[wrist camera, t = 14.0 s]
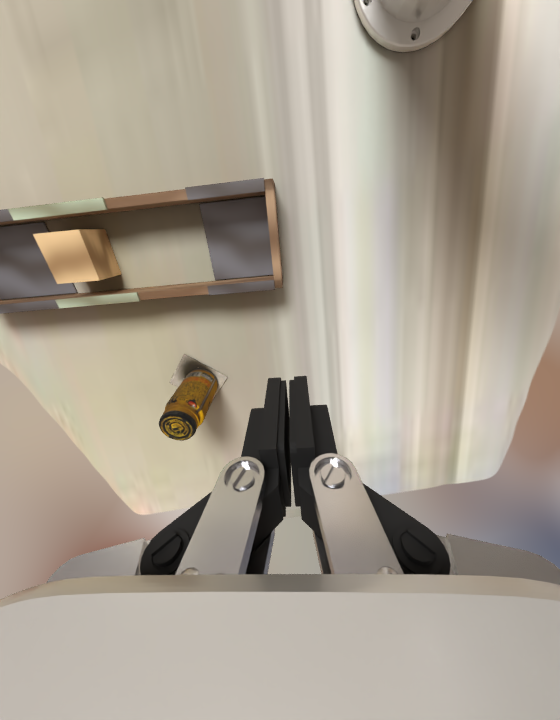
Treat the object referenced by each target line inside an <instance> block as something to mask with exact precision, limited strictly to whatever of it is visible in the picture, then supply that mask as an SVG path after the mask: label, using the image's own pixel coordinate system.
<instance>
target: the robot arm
mask: <svg viewBox="0 0 560 720" xmlns="http://www.w3.org/2000/svg"><path fill="white" fill-rule="evenodd" d="M472 1H473V0H354V2H355V6H356V10H357V13H358V15H359V17H360V20H361V22H362V24H363V26H364V27H365V29H366V30H367V32H368V33H369V35H370V36H371V37H372V38H373V39H374V40H375V41H376V42H377V43H378V44H380V45H381V46H383V47H385V48H387V49H389V50H393V51H398V52H409V51H415V50H418V49H421V48H424V47H426V46H428V45H430V44H431V43H433V42H435V41H436V40H438V39H439V38H440V37H441V36H442V35H444V34H445V33H446V32H447V31H448V30H449V29H450V28H451V27H452V26H453V25H454V24H455V22H456V21H457V20H458V19H459V18H460V17H461V15H462V14H463V13H464V11H465V10H466V9H467V7H468V6H469V5H470V3H471V2H472ZM364 3H367V5H368V6H366V5H364ZM411 37H413V38H414V41H413V40H412V39H411ZM291 467H292V477H293V486H294V495H295V505H296V506H301V516H302V520H303V521H304V522H305V523H306V524H307V525H308V526H309V527H310V528H311V529H312V530H313V537H314V541H315V546H316V551H317V555H318V560H319V564H320V569H321V574H272V575H271V574H268V569H269V563H270V558H271V552H272V546H273V541H274V536H275V528H276V527H277V526H278V524H279V523H280V522H281V521H282V520H283V517H286V507H291ZM0 720H560V569H559V568H557V567H556V566H555V565H554V564H553V563H551V562H550V561H548V560H546V559H545V558H543V557H542V556H540V555H537V554H534V553H531V552H529V551H525V550H520V549H515V548H511V547H506V546H501V545H497V544H492V543H487V542H483V541H478V540H473V539H469V538H464V537H459V536H455V535H451V534H447V536H446V537H442V536H438V535H436V534H434V533H433V532H432V531H431V530H429V529H428V528H427V527H426V526H424V525H423V524H421V523H420V522H418V521H417V520H416V519H414V518H413V517H411V516H409V515H408V514H407V513H405V512H404V511H402V510H401V509H399V508H398V507H397V506H395V505H394V504H392V503H391V502H389V501H388V500H386V499H385V498H383V497H382V496H381V495H379V494H378V493H376V492H375V491H373V490H372V489H370V488H369V487H367V486H366V485H365V484H363V483H362V481H361V479H360V477H359V475H358V473H357V470H356V468H355V467H354V465H353V464H352V462H351V461H349V460H348V459H347V458H346V457H343V456H341V455H339V454H337V450H336V445H335V441H334V436H333V431H332V426H331V422H330V417H329V412H328V408H327V405H312V406H310V402H309V394H308V385H307V377H306V376H297V377H294V380H290V381H289V408H288V398H287V387H286V380H285V381H281V378H268V384H267V391H266V398H265V405H264V408H254V409H251V413H250V417H249V422H248V427H247V432H246V436H245V441H244V446H243V451H242V455H241V457H240V458H236V459H234V460H232V461H231V462H229V463H228V464H227V465H226V466H225V467H224V468H223V470H222V471H221V473H220V475H219V478H218V480H217V482H216V484H215V487H214V489H213V491H212V492H211V493H209V494H208V495H207V496H205V497H204V498H203V499H202V500H200V501H199V502H198V503H196V504H195V505H194V506H193V507H191V508H190V509H189V510H187V511H186V512H185V513H183V514H182V515H181V516H180V517H178V518H177V519H176V520H174V521H173V522H172V523H171V524H169V525H168V526H167V527H165V528H164V529H163V530H162V531H160V532H159V533H158V534H157V535H156V536H155V537H154V538H153V539H152V540H149V541H146V540H145V539H144V538H143V539H139V540H135V541H131V542H128V543H124V544H120V545H116V546H113V547H109V548H105V549H101V550H98V551H94V552H90V553H87V554H82V555H79V556H77V557H75V558H72V559H70V560H69V561H67V562H66V563H65V564H63V565H62V566H60V567H59V568H58V569H57V570H56V571H55V572H54V573H53V574H52V576H51V577H50V578H49V579H48V581H47V583H44V584H41V585H38V586H34V587H31V588H28V589H25V590H22V591H19V592H17V593H14V594H12V595H9V596H7V597H5V598H3V599H0Z"/></svg>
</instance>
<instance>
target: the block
mask: <svg viewBox="0 0 560 720" xmlns="http://www.w3.org/2000/svg"><path fill="white" fill-rule="evenodd" d="M33 236H34V238H35V240H36V242H37V244H38V246H39V248H40V250H41V252H42V254H43V256H44V258H45V260H46V262H47V264H48V266H49V268H50V270H51V272H52V274H53V276H54V278H55V280H56V282H57V284H63V283H75V282H87V281H99V280H103V279H107V278H110V277H114V276H117V275H121V271H120V269H119V266H118V263H117V261H116V258H115V255H114V252H113V250H112V247H111V244H110V241H109V239H108V236H107V233H106V230H105V229H79V230H69V231H58V232H48V233H38V234H33Z"/></svg>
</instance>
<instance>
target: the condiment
mask: <svg viewBox="0 0 560 720" xmlns="http://www.w3.org/2000/svg"><path fill="white" fill-rule="evenodd" d="M226 379H227V376H225V375H223V374H221V373H220V372H218V371H216V370H214V369H212V368H210V367H208V366H206V365H204V364H202V363H200V362H199V361H197V360H195V359H193V358H191V357H189V356H187V355H185V354H184V355H183V357H182V359H181V361H180V363H179V365H178V367H177V369H176V371H175V373H174V375H173V377H172V379H171V380H170V382H169V383H171V384H173V385H175V386H177V387H178V389H177V390H176V392H175V393H174V394H173V396H172V397H171V399H170V400H169V402H168V403H167V405H166V407H165V411H164V413H163V415H162V417H161V418H160V421H159V426H160V429H161V431H162V432H163V433H164V434H165V435H166V436H168V437H169V438H172V439H175V440H187V439H189V438H191V437H192V436H193V435H194V434H195V432H196V429H197V428H198V426H199V425H201V424H202V422H203V420H204V419H205V416H206V413H207V411H208V409H209V407H210V405H211V403H212V400H213V399H214V397H215V396H216V394H217V393H218V391H219V389H220V388H221V386H222V385H223V383H224V382H225V380H226Z"/></svg>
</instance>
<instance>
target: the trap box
mask: <svg viewBox="0 0 560 720" xmlns="http://www.w3.org/2000/svg"><path fill="white" fill-rule="evenodd" d="M259 195H265V197H257V198H248V199H239V200H231V201H222V202H213V203H205V204H199V205H200V209H201V214H202V219H203V224H204V229H205V233H206V238H207V243H208V248H209V253H210V257H211V262H212V267H213V272H214V277H215V280H219V279H230V278H241V277H252V276H263V275H274V276H265V277H254V278H243V279H232V280H221V281H210V282H199V283H188V284H178V285H167V286H156V287H145V288H134V289H123V290H112V291H101V292H90V293H79V294H68V295H57V296H47V297H36V298H25V299H14V300H3V301H2V299H13V298H23V297H34V296H45V295H56V294H67V293H77V290H76V288H75V286H74V284H73V283H63V284H57V282H56V280H55V278H54V276H53V274H52V272H51V270H50V268H49V266H48V264H47V262H46V260H45V258H44V256H43V254H42V252H41V250H40V248H39V246H38V244H37V242H36V240H35V238H34V236H33V234H38V233H48V232H49V231H48V229H47V226H46V224H45V222H40V223H31V224H23V225H14V226H5V227H0V313H12V312H23V311H35V310H46V309H57V308H69V307H80V306H92V305H103V304H115V303H126V302H137V301H140V300H147V299H158V298H169V297H181V296H192V295H204V294H209V295H217V294H229V293H240V292H252V291H263V290H275V288H282V285H283V277H282V265H281V254H280V242H279V230H278V218H277V206H276V195H275V184H274V181H273V179H265V180H264V178H260V179H252V180H244V181H235V182H227V183H219V184H210V185H202V186H194V187H186V188H185V189H182V190H174V191H165V192H157V193H149V194H141V195H132V196H124V197H116V198H107V199H104V198H95V199H86V200H78V201H70V202H62V203H53V204H45V205H37V206H29V207H20V208H12V209H4V210H0V226H1V225H9V224H18V223H26V222H35V221H44V220H52V219H61V218H70V217H78V216H87V215H95V214H104V213H113V212H121V211H130V210H139V209H147V208H156V207H164V206H173V205H182V204H190V203H199V202H208V201H216V200H225V199H233V198H242V197H251V196H259Z"/></svg>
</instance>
